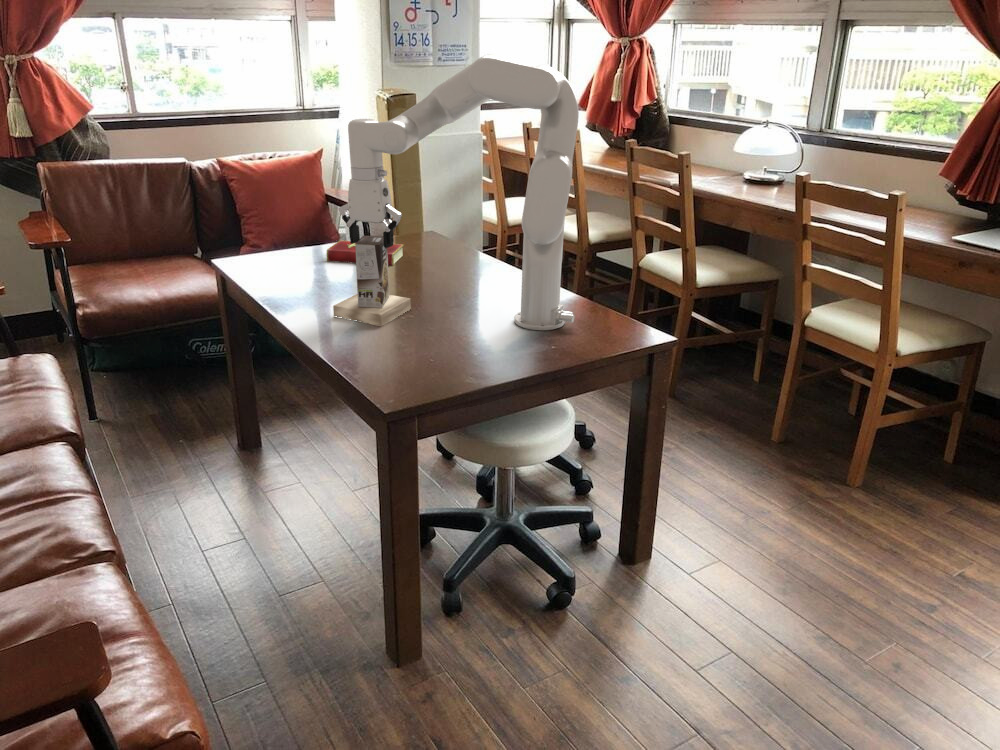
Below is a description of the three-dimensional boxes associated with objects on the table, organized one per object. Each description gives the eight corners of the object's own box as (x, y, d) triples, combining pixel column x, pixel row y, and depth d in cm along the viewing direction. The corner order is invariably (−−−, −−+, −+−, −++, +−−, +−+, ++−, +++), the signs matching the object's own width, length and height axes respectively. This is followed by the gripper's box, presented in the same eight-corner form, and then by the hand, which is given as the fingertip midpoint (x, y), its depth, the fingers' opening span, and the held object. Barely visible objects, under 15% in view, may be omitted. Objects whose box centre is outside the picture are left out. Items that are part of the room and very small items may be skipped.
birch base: (410, 309, 210) (410, 298, 208) (381, 326, 198) (381, 314, 197) (365, 301, 215) (364, 290, 214) (333, 317, 203) (333, 305, 202)
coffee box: (383, 308, 201) (380, 244, 194) (357, 307, 201) (354, 243, 195) (390, 296, 209) (388, 235, 203) (365, 295, 209) (362, 234, 203)
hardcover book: (393, 267, 246) (393, 253, 244) (327, 262, 249) (326, 249, 247) (404, 256, 257) (403, 243, 255) (340, 252, 260) (339, 239, 258)
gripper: (407, 174, 192) (410, 244, 199) (346, 168, 199) (351, 237, 206) (390, 179, 186) (393, 252, 193) (327, 173, 192) (333, 244, 199)
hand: (371, 244), depth 199 cm, fingers open, 9 cm apart
